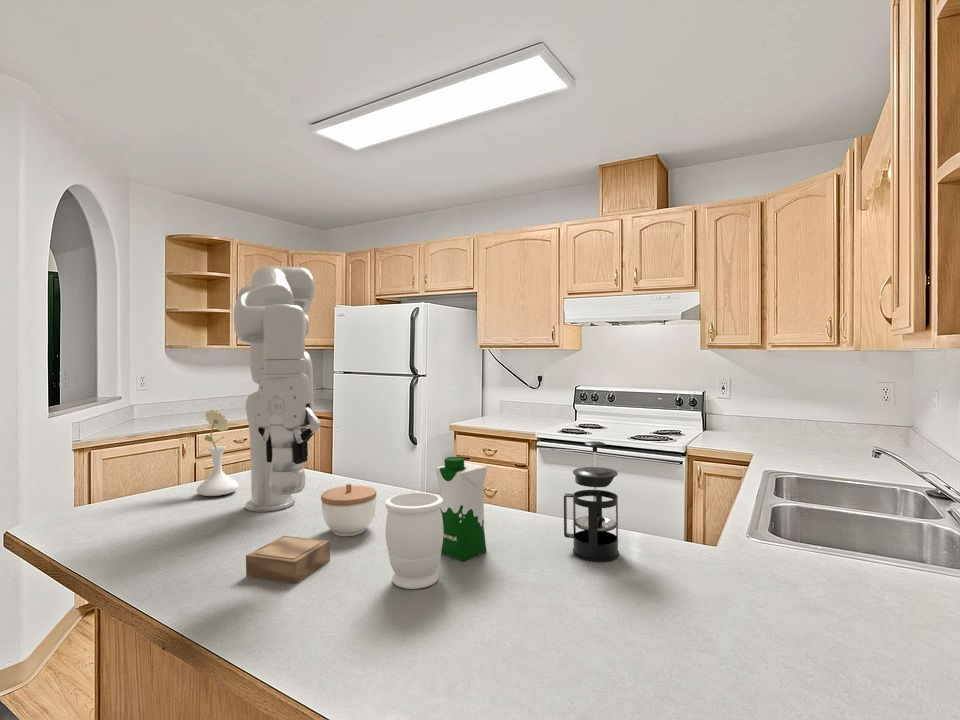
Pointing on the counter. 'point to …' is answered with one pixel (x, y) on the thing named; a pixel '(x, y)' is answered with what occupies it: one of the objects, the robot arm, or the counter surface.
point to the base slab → (288, 559)
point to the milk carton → (462, 508)
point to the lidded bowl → (348, 509)
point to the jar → (414, 538)
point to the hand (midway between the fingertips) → (287, 460)
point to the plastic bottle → (284, 460)
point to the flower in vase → (217, 461)
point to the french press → (594, 514)
